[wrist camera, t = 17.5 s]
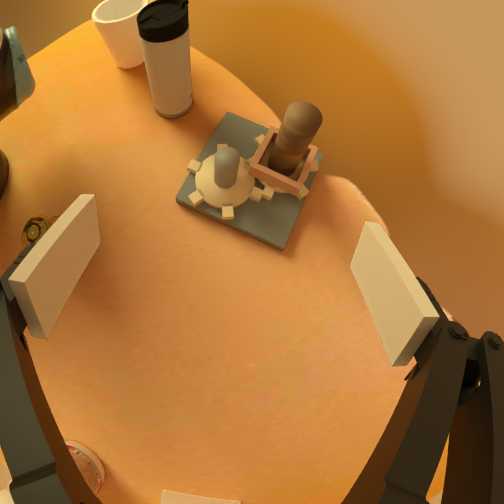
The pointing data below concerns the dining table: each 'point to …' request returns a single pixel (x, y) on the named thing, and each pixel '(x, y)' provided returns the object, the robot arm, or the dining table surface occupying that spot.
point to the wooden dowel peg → (294, 137)
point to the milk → (191, 499)
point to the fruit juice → (85, 461)
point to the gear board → (247, 182)
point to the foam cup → (120, 30)
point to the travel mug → (167, 55)
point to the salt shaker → (36, 228)
